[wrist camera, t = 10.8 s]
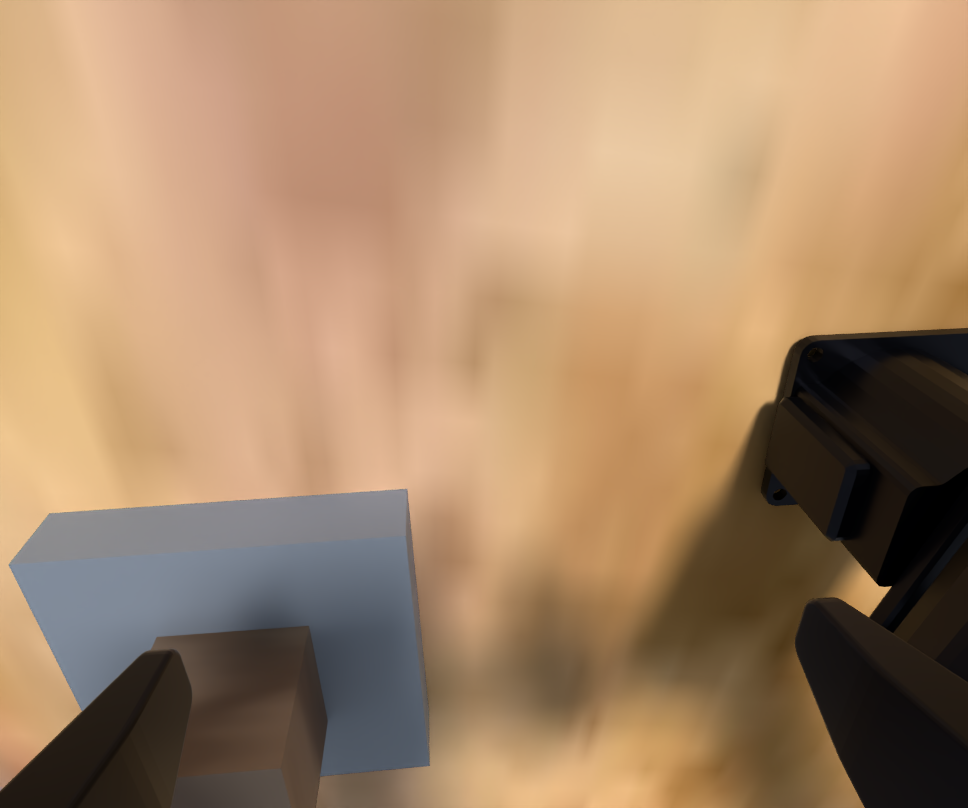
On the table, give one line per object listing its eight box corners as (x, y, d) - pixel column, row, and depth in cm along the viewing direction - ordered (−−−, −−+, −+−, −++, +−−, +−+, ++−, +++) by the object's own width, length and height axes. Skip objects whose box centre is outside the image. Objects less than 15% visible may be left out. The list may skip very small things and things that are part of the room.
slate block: (407, 480, 23) (405, 536, 20) (429, 700, 29) (429, 765, 26) (57, 503, 22) (8, 564, 20) (151, 725, 28) (123, 794, 25)
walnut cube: (309, 625, 22) (280, 768, 18) (327, 720, 24) (307, 868, 20) (157, 636, 22) (89, 785, 17) (190, 732, 24) (139, 884, 20)
